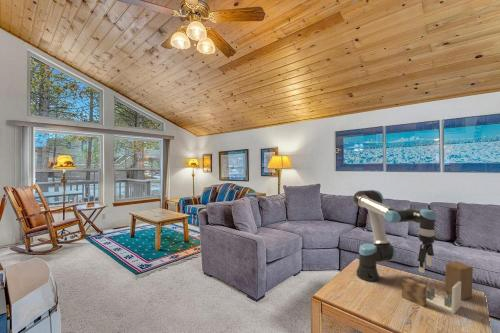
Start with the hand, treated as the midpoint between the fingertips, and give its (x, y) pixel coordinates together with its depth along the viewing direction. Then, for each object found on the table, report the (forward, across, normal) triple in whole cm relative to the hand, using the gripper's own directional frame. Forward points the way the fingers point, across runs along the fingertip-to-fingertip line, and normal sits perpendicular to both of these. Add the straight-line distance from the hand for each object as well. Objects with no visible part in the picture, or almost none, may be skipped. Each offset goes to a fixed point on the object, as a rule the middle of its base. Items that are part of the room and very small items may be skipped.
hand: (425, 268), depth 149 cm
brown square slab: (+20, -6, +4) cm, 21 cm away
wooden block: (+21, +24, -12) cm, 34 cm away
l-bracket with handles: (+20, +4, -6) cm, 22 cm away
